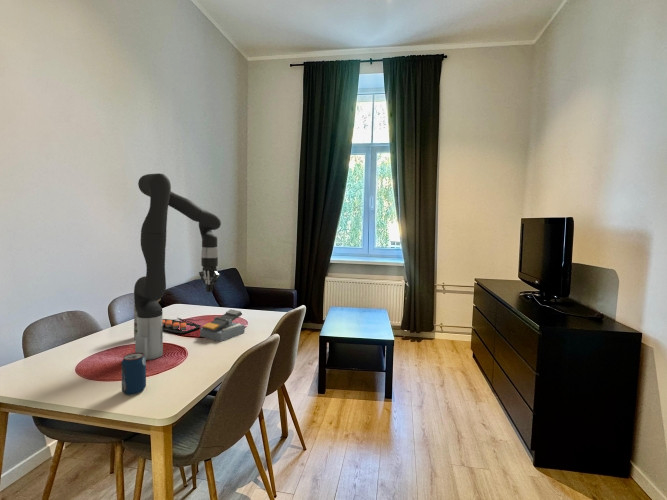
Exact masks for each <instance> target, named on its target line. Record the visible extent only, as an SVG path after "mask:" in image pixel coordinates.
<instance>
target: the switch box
mask: <svg viewBox="0 0 667 500" xmlns="http://www.w3.org/2000/svg"><path fill="white" fill-rule="evenodd" d="M216 318H219V316H214V317H213V321H214V320H215V319H216ZM237 324H238V323H237V322H234V321H232V320H231V319H230V320H228V324H227V325H225V326H224V327H222V328H221V329H219V330H218V331H216V332H211V331H206V330H203V328H202V327H200V328H199V329H200V330H199V336H200V337H202V338H205V339H210V340H213V341H217V342H224V341H226V340H228V339H231V338H235V337H236V336H240V335H242V334H244V333H245V330H246V329H245V328H246V327H245V326H246V325H245V324H241V323H240V324H241V326H238V327H235V328H232V329H230V330H227V331H224V332H223V331H222V329H225V328H228V327H231V326H234V325H237Z"/></svg>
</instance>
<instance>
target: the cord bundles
mask: <svg viewBox="0 0 667 500" xmlns="http://www.w3.org/2000/svg"><path fill="white" fill-rule="evenodd" d="M238 326H241V323H237V325H234V326H231V327H228V328H225V329H222V331H223V332H224V331H227V330H230V329H232V328H235V327H238Z"/></svg>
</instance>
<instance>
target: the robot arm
mask: <svg viewBox="0 0 667 500" xmlns="http://www.w3.org/2000/svg"><path fill="white" fill-rule="evenodd" d="M137 185H138V189H139V191H140V192H141V193H142V194H143V195H145V196H147V197H149V198H150V199H149V200H150V201H149V202H150V203H149V209H148V212H147V214H146V217H145V218H144V220H143V223H142V225H141V228H140V248H141V249H140V250H141V251H142V255H143V258H144V261H145V266H146V271H145V272H146V274H145V275H146V276H145V275H144V276H142V277H139V278H138V279H137V281H136V282H135V283H134V287H133V297H134V299H133V300H134V305H135V309H136V311H137V335H135V337H134V345H135V346H134V348H135V349H134V350H135V352H134V353H143V354H144V357H145V359H146V361H148V360H154V359H155V360H156V359H158V358H161V357H162V356H163V355H164V350H163V349H164V345H163V343H164V342H163V341H164V339H163V338H164V335H163V332H164V330H163V319H164V318H163V308H162V306H161V305H160V303H159V301H160V300H161V299H162V298H163V296H164V295H165V294H166V290H167V282H166V281H167V279H166V247H167V225H168V213H169V212H168V210H169V209H168V208H169V207H171V208H172V209H174V210H176V211H178V212H179V213H181V214H182V215H184V216H186V217H187V218H188V219H189V220H192V221H193V222H196V223H197V222H198V228H199V232H200V235H201V250H200V251H201V254H200V255H201V259H200V260H201V261H200V262H201V263H200V264H201V267H202V269H201V271H199V272H198V274H199V276H200V278H201V281H202V282H203V283H204V284H206V286H205V290H206V292H207V293H212V292H213V290H214V286H213V285H214V284H217V282H218V280H219V279H220V277H221V273H218V269H217V267H218V266H219V265H218V264H219V250H218V236H217V235H215V234H213V231H215V230H219V228H221V225H222V222H221V219H220V218H219V216H218V215H216V214H215V213H213V212H211V211H209V210H206V209H204V208H203V207H201V206H200V205H198V204H197V203H195V202H194V201H192V200H190V199H188V198H186V197H184V196H182V195H180V194H177V193H175V192H173V191H172V185H171V181H170V178H168V176H167V175H166V174H164V173H148V174H144V175H142V176H140V178H139V179H138V182H137Z"/></svg>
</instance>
